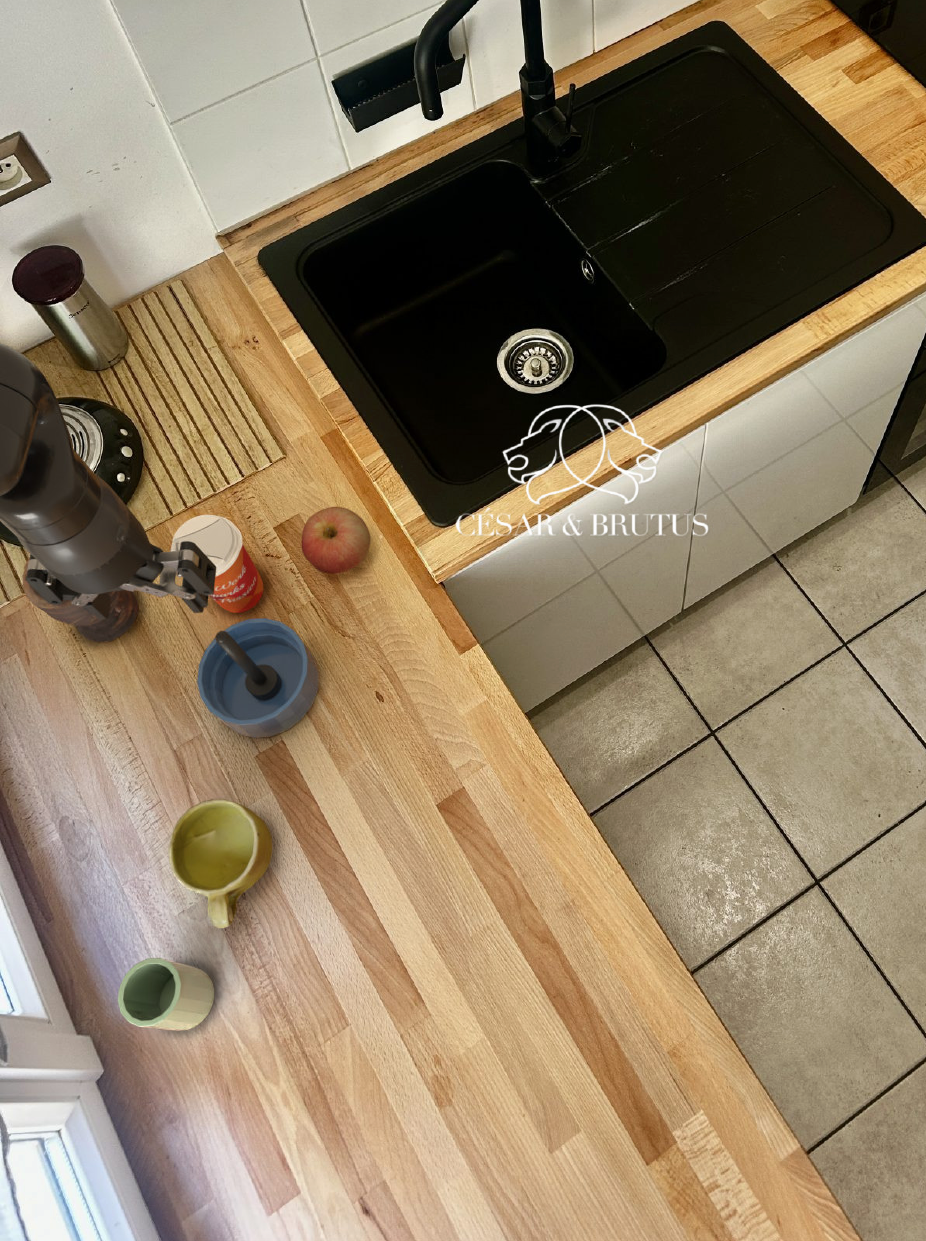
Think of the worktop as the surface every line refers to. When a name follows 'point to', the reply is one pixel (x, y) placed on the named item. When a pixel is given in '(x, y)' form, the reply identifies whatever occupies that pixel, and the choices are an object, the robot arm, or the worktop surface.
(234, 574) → the paper cup
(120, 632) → the mortar and pestle
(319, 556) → the apple
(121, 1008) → the utensil jar
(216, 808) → the mug
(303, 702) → the bowl
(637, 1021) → the worktop surface
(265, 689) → the black pestle
